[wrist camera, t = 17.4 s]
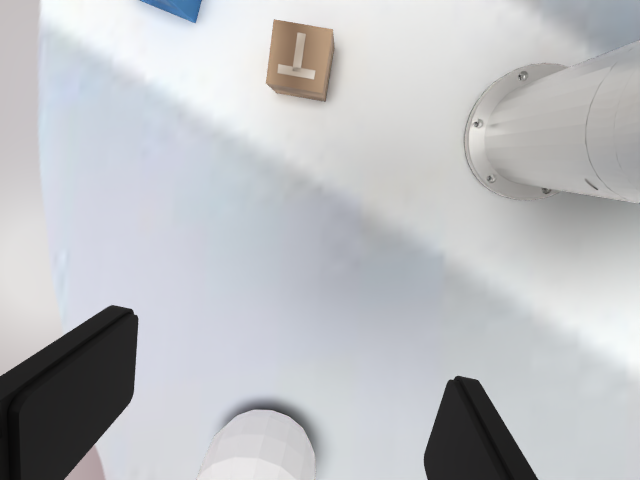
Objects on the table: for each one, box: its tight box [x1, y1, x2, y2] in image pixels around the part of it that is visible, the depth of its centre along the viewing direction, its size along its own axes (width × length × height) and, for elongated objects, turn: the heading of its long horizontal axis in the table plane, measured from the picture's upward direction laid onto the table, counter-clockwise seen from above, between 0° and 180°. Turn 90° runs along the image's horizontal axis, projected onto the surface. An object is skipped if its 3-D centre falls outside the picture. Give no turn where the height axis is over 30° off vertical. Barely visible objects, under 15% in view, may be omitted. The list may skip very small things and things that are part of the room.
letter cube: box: [266, 20, 334, 101], centre depth 32 cm, size 5×5×5 cm
